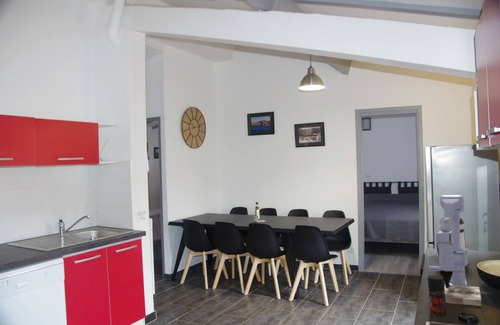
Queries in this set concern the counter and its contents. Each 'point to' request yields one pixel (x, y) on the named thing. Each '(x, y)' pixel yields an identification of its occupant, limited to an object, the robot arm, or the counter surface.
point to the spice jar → (437, 295)
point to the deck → (463, 295)
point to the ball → (451, 287)
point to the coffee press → (462, 237)
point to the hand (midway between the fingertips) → (447, 287)
